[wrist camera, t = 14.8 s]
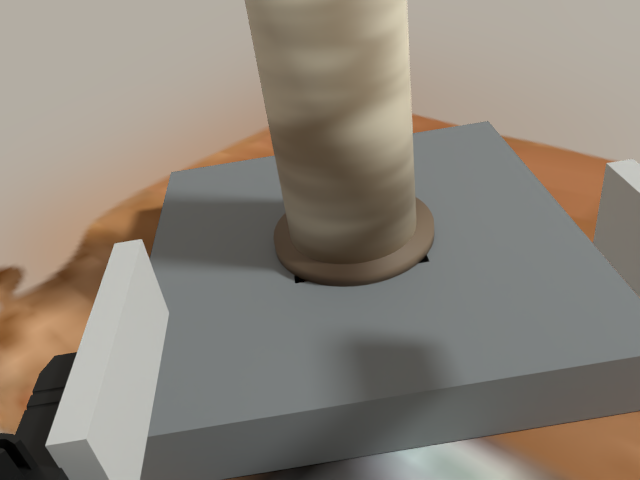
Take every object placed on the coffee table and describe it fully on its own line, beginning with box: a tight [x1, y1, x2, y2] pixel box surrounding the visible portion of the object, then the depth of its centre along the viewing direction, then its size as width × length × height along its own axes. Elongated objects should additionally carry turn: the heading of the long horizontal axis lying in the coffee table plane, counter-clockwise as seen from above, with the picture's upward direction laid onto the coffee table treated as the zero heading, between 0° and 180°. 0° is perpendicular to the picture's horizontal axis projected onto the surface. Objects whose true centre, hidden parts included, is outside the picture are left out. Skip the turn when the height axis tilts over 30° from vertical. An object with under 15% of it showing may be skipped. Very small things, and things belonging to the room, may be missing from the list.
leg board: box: [140, 121, 640, 480], centre depth 29 cm, size 20×20×3 cm
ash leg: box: [245, 0, 434, 287], centre depth 25 cm, size 8×8×16 cm
